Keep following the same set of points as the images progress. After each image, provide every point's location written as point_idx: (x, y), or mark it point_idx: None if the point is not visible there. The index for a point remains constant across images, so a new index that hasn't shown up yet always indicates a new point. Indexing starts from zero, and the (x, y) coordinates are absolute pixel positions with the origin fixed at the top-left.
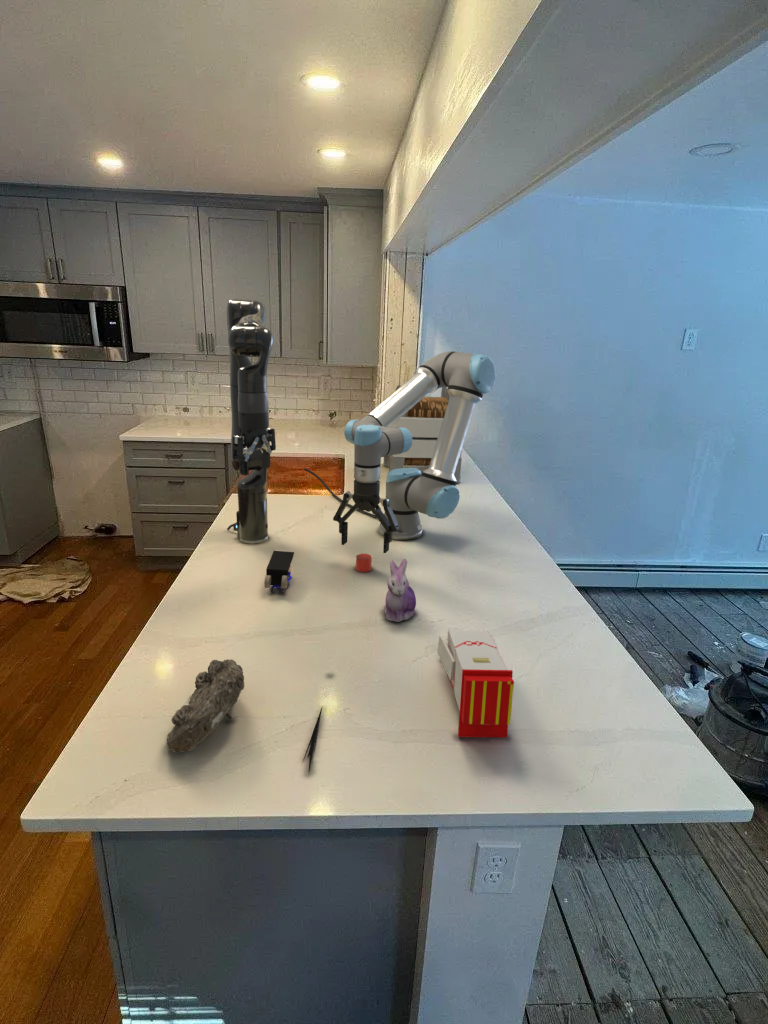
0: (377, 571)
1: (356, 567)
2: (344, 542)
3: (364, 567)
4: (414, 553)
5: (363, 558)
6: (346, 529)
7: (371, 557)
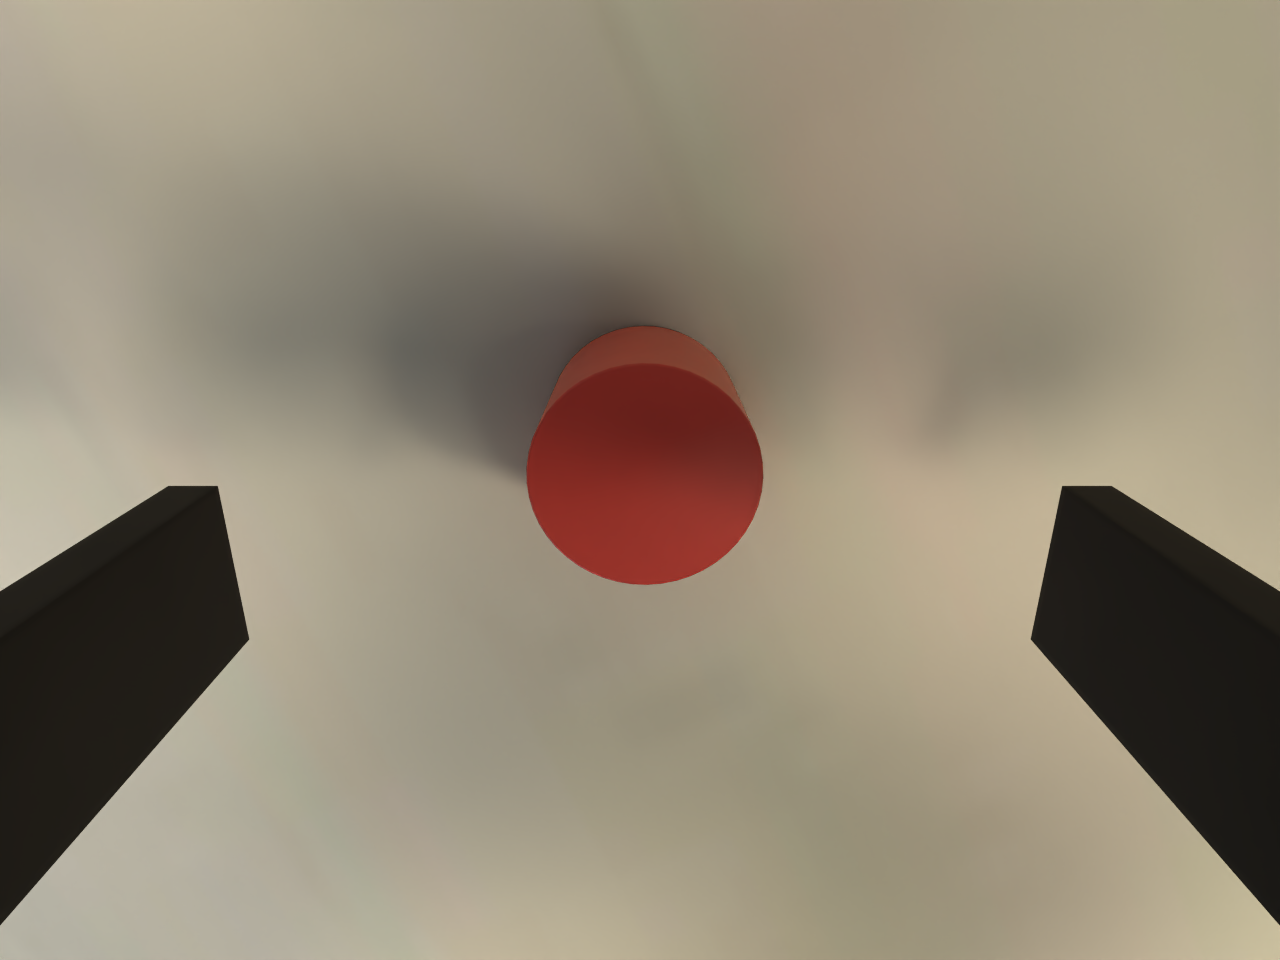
0: (459, 428)
1: (719, 364)
2: (1077, 540)
3: (592, 350)
4: (326, 952)
5: (623, 415)
6: (1240, 798)
7: (532, 507)
